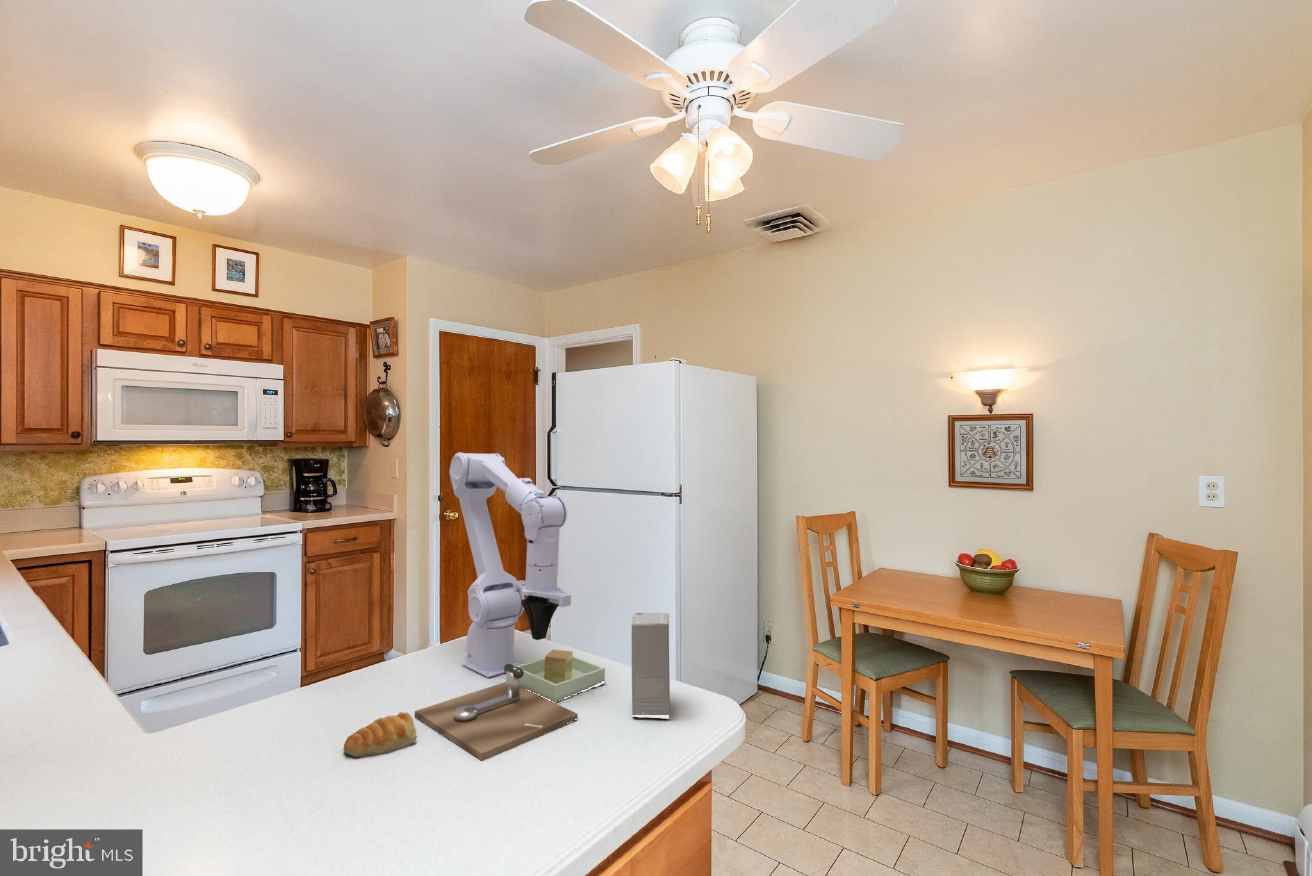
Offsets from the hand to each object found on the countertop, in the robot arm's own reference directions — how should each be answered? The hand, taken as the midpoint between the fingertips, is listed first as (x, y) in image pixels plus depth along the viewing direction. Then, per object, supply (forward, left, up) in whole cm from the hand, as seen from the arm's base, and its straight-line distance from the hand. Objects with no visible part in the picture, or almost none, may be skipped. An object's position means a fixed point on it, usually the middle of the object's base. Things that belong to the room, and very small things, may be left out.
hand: (539, 638), depth 109 cm
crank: (+3, -12, -8) cm, 15 cm away
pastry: (0, -28, -10) cm, 30 cm away
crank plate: (+5, -12, -9) cm, 16 cm away
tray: (+1, +5, -9) cm, 11 cm away
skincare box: (+20, +9, -10) cm, 24 cm away
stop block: (+1, +4, -9) cm, 10 cm away
